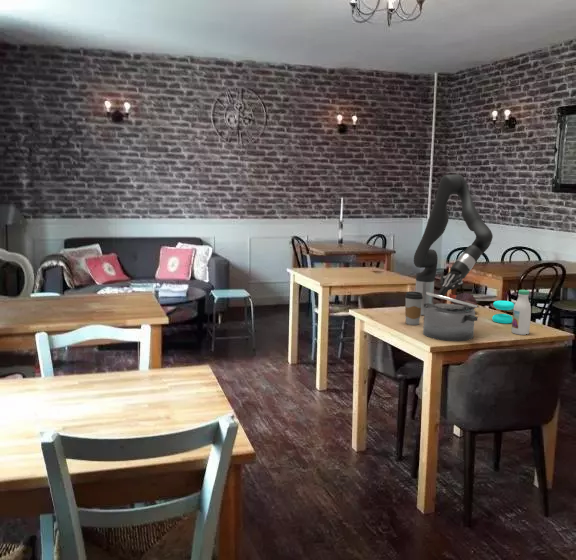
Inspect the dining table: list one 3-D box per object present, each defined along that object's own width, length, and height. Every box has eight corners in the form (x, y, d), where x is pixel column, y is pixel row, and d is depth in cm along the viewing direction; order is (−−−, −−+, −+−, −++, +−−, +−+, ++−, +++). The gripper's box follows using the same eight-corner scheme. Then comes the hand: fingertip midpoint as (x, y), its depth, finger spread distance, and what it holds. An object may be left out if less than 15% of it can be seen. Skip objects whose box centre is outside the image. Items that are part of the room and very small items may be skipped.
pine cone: (445, 309, 347) (446, 290, 345) (457, 307, 352) (459, 289, 350) (471, 315, 332) (472, 296, 330) (484, 313, 338) (485, 294, 336)
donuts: (504, 299, 325) (519, 303, 316) (503, 318, 327) (517, 323, 318) (489, 300, 321) (503, 304, 312) (487, 320, 323) (501, 324, 314)
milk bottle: (528, 332, 301) (532, 289, 297) (529, 335, 293) (533, 292, 290) (511, 330, 303) (514, 288, 300) (511, 334, 296) (514, 291, 293)
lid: (488, 311, 286) (490, 304, 286) (450, 301, 274) (452, 293, 274) (451, 301, 306) (453, 294, 306) (415, 292, 294) (417, 284, 294)
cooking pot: (491, 340, 284) (493, 313, 282) (454, 345, 273) (455, 318, 271) (442, 324, 311) (444, 300, 309) (406, 329, 300) (408, 304, 298)
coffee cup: (420, 322, 315) (422, 291, 313) (422, 326, 307) (423, 295, 305) (402, 321, 316) (404, 291, 314) (404, 325, 308) (406, 294, 305)
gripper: (448, 258, 294) (426, 286, 290) (469, 262, 282) (446, 291, 279) (456, 269, 297) (434, 297, 293) (477, 273, 286) (455, 302, 282)
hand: (440, 294), depth 286 cm, fingers closed
